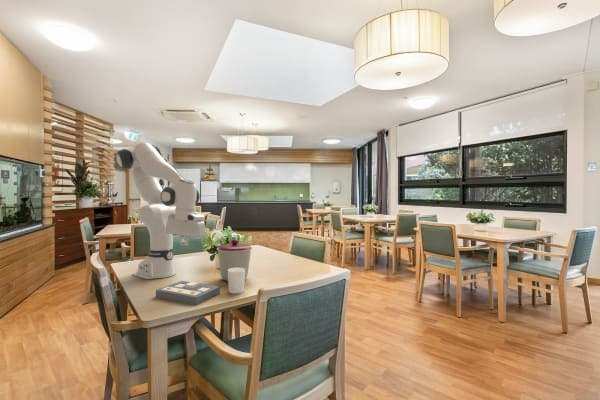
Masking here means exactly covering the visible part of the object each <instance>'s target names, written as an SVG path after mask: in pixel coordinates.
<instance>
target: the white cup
mask: <svg viewBox="0 0 600 400" xmlns="http://www.w3.org/2000/svg"><path fill="white" fill-rule="evenodd" d="M245 281H246V278H245V269H244V268H231V269H228V281H227V284H228V292H229V293H230V294H235V295H236V294H241V293H243V292H244V291H245Z"/></svg>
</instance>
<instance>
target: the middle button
mask: <svg viewBox="0 0 600 400" xmlns="http://www.w3.org/2000/svg"><path fill="white" fill-rule="evenodd" d="M189 282H190V283H187V284H185V288H187V289H194V288H197V287H199V284H200V283H199V282H194V281H189Z"/></svg>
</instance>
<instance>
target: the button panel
mask: <svg viewBox="0 0 600 400" xmlns="http://www.w3.org/2000/svg"><path fill="white" fill-rule="evenodd" d="M190 282H191V281H185V280H180V281H177V282H174V283H172V284H169V285H166V286H163V287H160V288H157V289H156V290H155V298H158V299H159V298H160V299H164V300H169V301H173V302H175V301H176V302H179V303H185V304H190V305H195V306H198V305H199V304H202V303H203V302H205V301H207V300H209V299H212V298H213V297H215V296H217V295H220V294H221V287H220V286H217V285H210V284H204V283H199V287H197V288H194V289H187V288H185V286H183V287H175V285H178V284H187V283H190ZM203 287H204V288H210V289H209V290H206V291H199V290H198V289H200V288H203Z"/></svg>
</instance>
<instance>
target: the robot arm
mask: <svg viewBox="0 0 600 400" xmlns="http://www.w3.org/2000/svg"><path fill="white" fill-rule="evenodd" d="M116 162H117V164H118V165H119V166H120V167H121V169H124V170H131V169H132V177H133V180H134V183H135V186H136V188H137V190H138V192H139V194H140V197H141V198H142V199H143V201H145V202H146V203H148V204H145V205H142V206H141V207H140V209H139V211H138V219H139V220H140V222H141V223H142V224H144V225H145V226H146V228H147V230H148V233H149V242H150V243H149V244H150V245H149V246H150V249H148V250H147V251H146V254H147V256H146V257H145V258H144V259H142V260H141V261H140V262H139V263H138V264H137V265H138V266H137V270H136V271H134V272H132V275H133V276H135V277H139V278H142V279H145V280H151V279H163V278H170V277H172V276H175V275H176V268H175V260H174V259H175V258H174V253H175V251H174V250H175V249H174V248H173V247H174V243H173V242H174V241H173V240H174V239H173V238H174V235H177V236H178V239H179V241H180V245H181V246H189V242H190V240H191V238H196V239H200V238H204V236H205V235H206V223H205V220H206V219H205V218H206V216H205V215H204V214H202V213H200V212H198V211H197V206H196V205H197V204H198V203H199V201H200V197H201V196H200V193H199V191H198V189H197V184H196V182H195V181H193V180H189V179H185V178H184V177H183V175H182V174H181V172H180V171H178V170H177V169H176V168H175V167H173V166H172V165H171V164H169V163H168V162H167V161H166V160H165V158H163V154H162V151H161V149H160V147H159V146H158V145H157V144H151V143H148V142H146V141H145V142H144V141H143V142H138V143H137V144H136V145H135V146H133V147H128V148H126V149H125V148H123V149H120V150H118V151H117V153H116ZM158 179H161V180H165V181H167V182H170V184H171V185H169V186H165V187H164V188H162V185H161V184H160V182H159V180H158ZM184 238H185V239H184Z"/></svg>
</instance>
